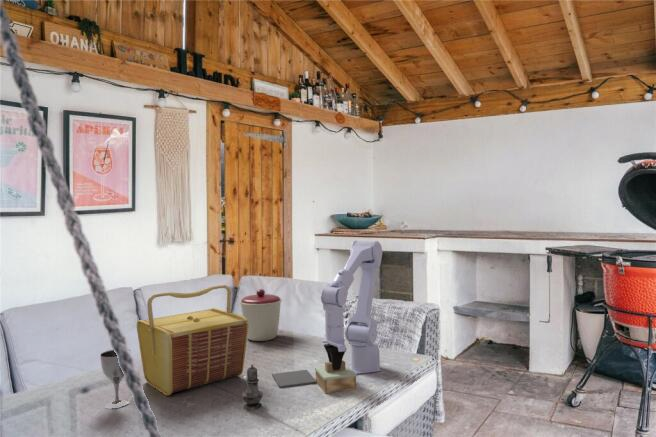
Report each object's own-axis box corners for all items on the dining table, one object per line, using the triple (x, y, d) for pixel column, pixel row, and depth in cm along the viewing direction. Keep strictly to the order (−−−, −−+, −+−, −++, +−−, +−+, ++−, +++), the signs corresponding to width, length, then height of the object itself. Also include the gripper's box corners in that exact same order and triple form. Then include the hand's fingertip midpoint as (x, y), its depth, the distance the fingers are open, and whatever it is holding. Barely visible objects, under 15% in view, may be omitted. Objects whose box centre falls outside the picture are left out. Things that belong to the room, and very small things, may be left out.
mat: (306, 371, 170) (306, 369, 170) (316, 383, 158) (316, 381, 158) (272, 375, 166) (271, 373, 166) (279, 388, 154) (279, 386, 154)
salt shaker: (259, 411, 138) (258, 368, 137) (239, 409, 139) (238, 367, 138) (266, 402, 143) (265, 361, 143) (246, 401, 144) (245, 360, 144)
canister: (291, 338, 213) (290, 288, 212) (256, 346, 200) (255, 294, 200) (266, 330, 226) (265, 284, 225) (232, 338, 214) (230, 289, 213)
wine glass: (113, 412, 139) (111, 358, 138) (96, 406, 143) (94, 354, 142) (137, 402, 145) (136, 351, 145) (120, 397, 150) (119, 347, 149)
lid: (345, 368, 162) (345, 355, 162) (356, 379, 152) (356, 365, 152) (314, 372, 159) (314, 359, 159) (324, 383, 149) (324, 369, 149)
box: (345, 378, 162) (345, 366, 162) (356, 389, 153) (356, 376, 152) (315, 382, 159) (315, 369, 159) (325, 393, 150) (324, 380, 149)
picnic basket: (167, 403, 144) (164, 300, 143) (134, 381, 163) (131, 290, 162) (253, 379, 163) (251, 288, 162) (214, 361, 182) (212, 280, 182)
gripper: (315, 321, 161) (316, 362, 161) (329, 331, 147) (330, 377, 148) (336, 319, 163) (337, 360, 163) (351, 329, 149) (352, 374, 150)
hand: (335, 368), depth 156 cm, fingers closed on lid, 2 cm apart
